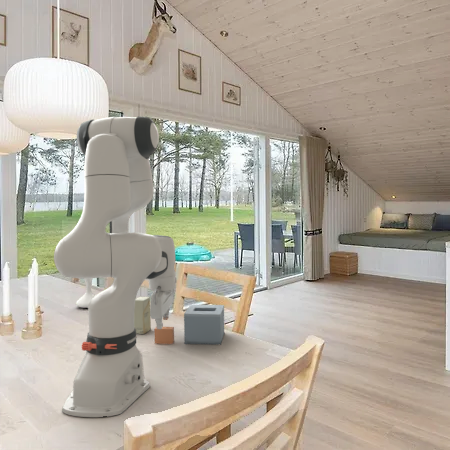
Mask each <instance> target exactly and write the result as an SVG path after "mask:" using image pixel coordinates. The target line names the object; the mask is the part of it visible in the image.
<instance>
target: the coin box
mask: <svg viewBox="0 0 450 450" xmlns="http://www.w3.org/2000/svg"><path fill="white" fill-rule="evenodd" d="M183 323H184V324H183V329H184V331H183V334H184V336H183V337H184V338H183V339H184V345H216V344H217V345H219V344H220V345H222V341H223V339H224V336H225V305H224V304H190V305H189V306H188V308H187V309H186V311H185V312H184V313H183ZM220 345H219V346H220Z"/></svg>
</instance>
